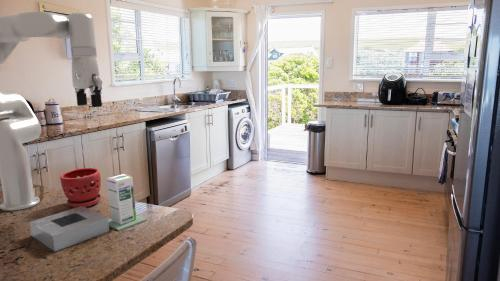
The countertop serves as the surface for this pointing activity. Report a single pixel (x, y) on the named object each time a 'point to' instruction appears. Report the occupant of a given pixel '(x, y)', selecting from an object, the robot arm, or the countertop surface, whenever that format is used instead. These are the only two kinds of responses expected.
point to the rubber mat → (126, 225)
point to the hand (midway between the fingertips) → (89, 106)
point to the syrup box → (121, 198)
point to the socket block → (69, 227)
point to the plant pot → (81, 187)
